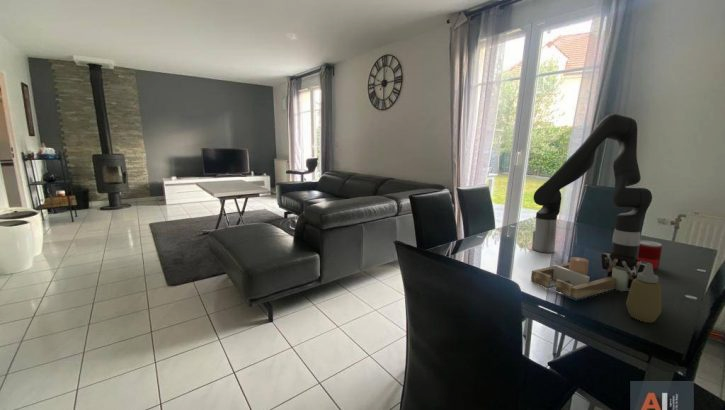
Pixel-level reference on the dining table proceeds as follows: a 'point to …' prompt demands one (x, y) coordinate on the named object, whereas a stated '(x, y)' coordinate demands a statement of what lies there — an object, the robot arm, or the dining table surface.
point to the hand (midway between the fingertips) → (620, 284)
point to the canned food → (649, 253)
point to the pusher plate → (568, 276)
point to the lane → (578, 291)
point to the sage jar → (620, 278)
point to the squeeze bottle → (645, 296)
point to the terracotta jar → (579, 265)
